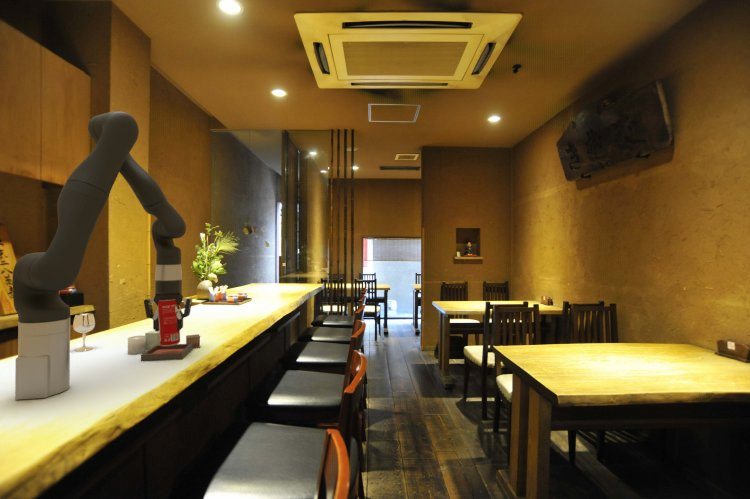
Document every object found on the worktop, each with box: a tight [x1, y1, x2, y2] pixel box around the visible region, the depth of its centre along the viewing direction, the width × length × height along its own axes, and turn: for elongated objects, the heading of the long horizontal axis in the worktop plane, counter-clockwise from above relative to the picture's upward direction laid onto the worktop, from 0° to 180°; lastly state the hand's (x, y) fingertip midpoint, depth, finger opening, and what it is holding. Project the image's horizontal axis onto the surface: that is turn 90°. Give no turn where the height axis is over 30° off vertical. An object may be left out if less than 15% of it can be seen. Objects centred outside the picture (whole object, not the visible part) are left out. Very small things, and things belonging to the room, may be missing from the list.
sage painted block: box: [144, 329, 160, 351], centre depth 125 cm, size 4×4×6 cm
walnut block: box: [185, 334, 201, 349], centre depth 128 cm, size 4×4×4 cm
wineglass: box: [72, 312, 96, 352], centre depth 124 cm, size 6×6×12 cm
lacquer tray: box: [140, 343, 193, 362], centre depth 118 cm, size 12×12×2 cm
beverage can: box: [157, 299, 181, 346], centre depth 118 cm, size 6×6×15 cm
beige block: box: [127, 335, 146, 356], centre depth 121 cm, size 5×5×5 cm
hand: (168, 330), depth 118 cm, fingers closed on beverage can, 5 cm apart
